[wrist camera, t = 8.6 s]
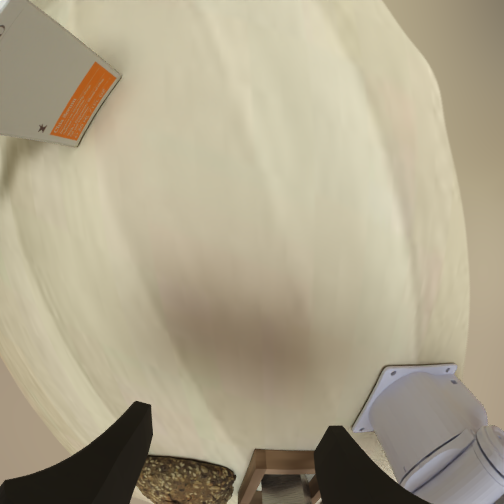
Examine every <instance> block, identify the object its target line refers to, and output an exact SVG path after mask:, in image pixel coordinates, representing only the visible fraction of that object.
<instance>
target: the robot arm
mask: <svg viewBox="0 0 504 504" xmlns="http://www.w3.org/2000/svg"><path fill="white" fill-rule="evenodd" d="M456 369H457V365H456V364H455V363H454V364H440V365H422V366H388V367H386V368H385V369H384V370H383V371H382V373H381V375H380V377H379V379H378V382H377V384H376V386H375V387H374V389H373V391H372V393H371V395H370V397H369V399H368V401H367V403H366V405H365V406H364V408H363V410H362V412H361V413H360V415H359V417H358V419H357V420H356V422H355V424H354V425H353V427H352V431H353V432H354V433H358V432H369V431H375V434H376V436H377V438H378V440H379V442H380V444H381V446H382V449H383V451H384V453H385V455H386V457H387V459H388V462H389V464H390V466H391V468H392V470H393V473H394V475H395V477H396V479H397V482H398V483H397V482H395V481H394V480H393V479H391V478H390V477H389V476H388V475H387V474H386V473H385V472H384V471H382V470H381V469H380V468H379V467H378V466H377V465H376V464H375V463H374V462H373V461H372V460H371V459H370V458H369V456H368V455H367V454H366V453H365V452H364V451H363V450H362V449H361V447H360V446H359V445H358V444H357V443H356V442H355V440H354V439H353V438H352V437H351V436H350V434H349V433H348V432H347V431H346V430H345V428H344V427H343V426H329V427H328V429H327V430H326V432H325V434H324V436H323V438H322V439H321V441H320V443H319V445H318V446H317V448H316V450H315V451H314V465H315V474H316V478H317V482H318V486H319V490H320V494H321V499H322V503H323V504H504V431H503V430H501V429H500V428H498V427H497V426H495V425H489V426H488V425H487V424H488V420H487V413H486V411H485V408H484V406H483V405H482V404H481V402H480V401H479V400H478V399H477V398H476V397H475V396H474V395H473V394H472V393H471V392H470V390H469V389H467V387H466V386H465V385H464V384H463V383H462V382H461V381H460V380H459V379H458V378H457V377H456V376H455V375H454V373H455V371H456ZM393 371H394V372H393ZM152 436H153V429H152V414H151V405H150V404H146V403H143V402H139V401H135V402H134V403H133V404H132V405H131V406H130V407H129V408H128V409H127V411H126V412H125V413H124V414H123V415H122V416H121V417H120V418H119V419H118V420H117V421H116V422H115V423H114V424H113V425H111V426H110V427H109V428H108V429H107V430H106V431H105V432H104V433H103V434H101V435H100V436H99V437H98V438H96V439H95V440H94V441H93V442H91V443H90V444H89V445H87V446H86V447H85V448H83V449H82V450H80V451H79V452H77V453H76V454H74V455H72V456H71V457H69V458H67V459H65V460H64V461H62V462H60V463H58V464H56V465H54V466H51V467H49V468H47V469H44V470H41V471H39V472H36V473H33V474H30V475H26V476H22V477H18V478H13V479H9V480H5V481H4V482H3V484H2V485H1V486H0V504H129V503H130V500H131V497H132V494H133V491H134V488H135V486H136V483H137V481H138V478H139V476H140V473H141V471H142V468H143V466H144V463H145V460H146V458H147V455H148V452H149V448H150V444H151V440H152Z"/></svg>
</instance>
